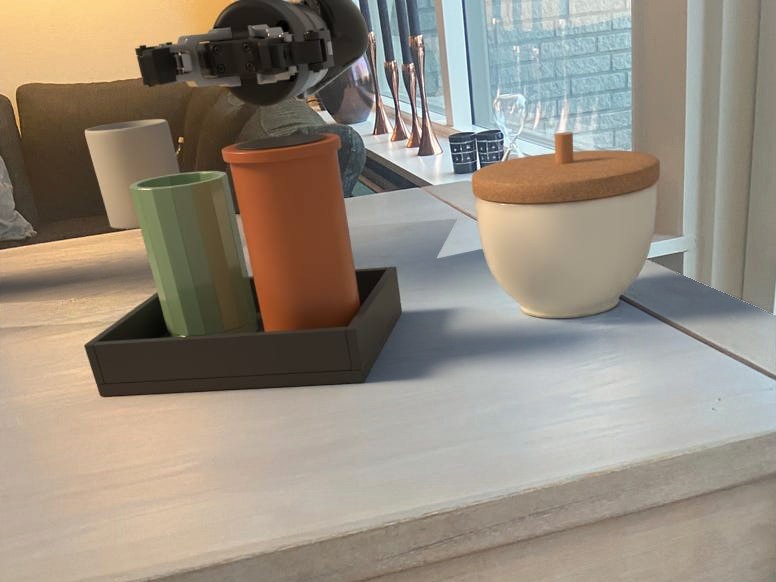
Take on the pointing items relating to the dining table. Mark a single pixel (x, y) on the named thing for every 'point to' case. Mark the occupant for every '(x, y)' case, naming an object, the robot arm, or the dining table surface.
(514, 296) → the lidded bowl
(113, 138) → the mug
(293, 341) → the dark shallow tray
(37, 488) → the dining table surface
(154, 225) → the cup
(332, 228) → the pot
